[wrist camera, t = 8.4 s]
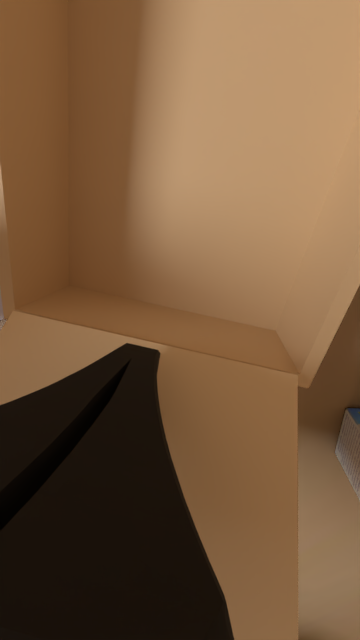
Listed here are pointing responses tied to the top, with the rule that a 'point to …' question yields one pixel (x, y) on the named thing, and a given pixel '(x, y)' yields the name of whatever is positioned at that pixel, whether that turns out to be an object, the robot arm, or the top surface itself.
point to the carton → (183, 171)
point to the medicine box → (350, 447)
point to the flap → (203, 456)
